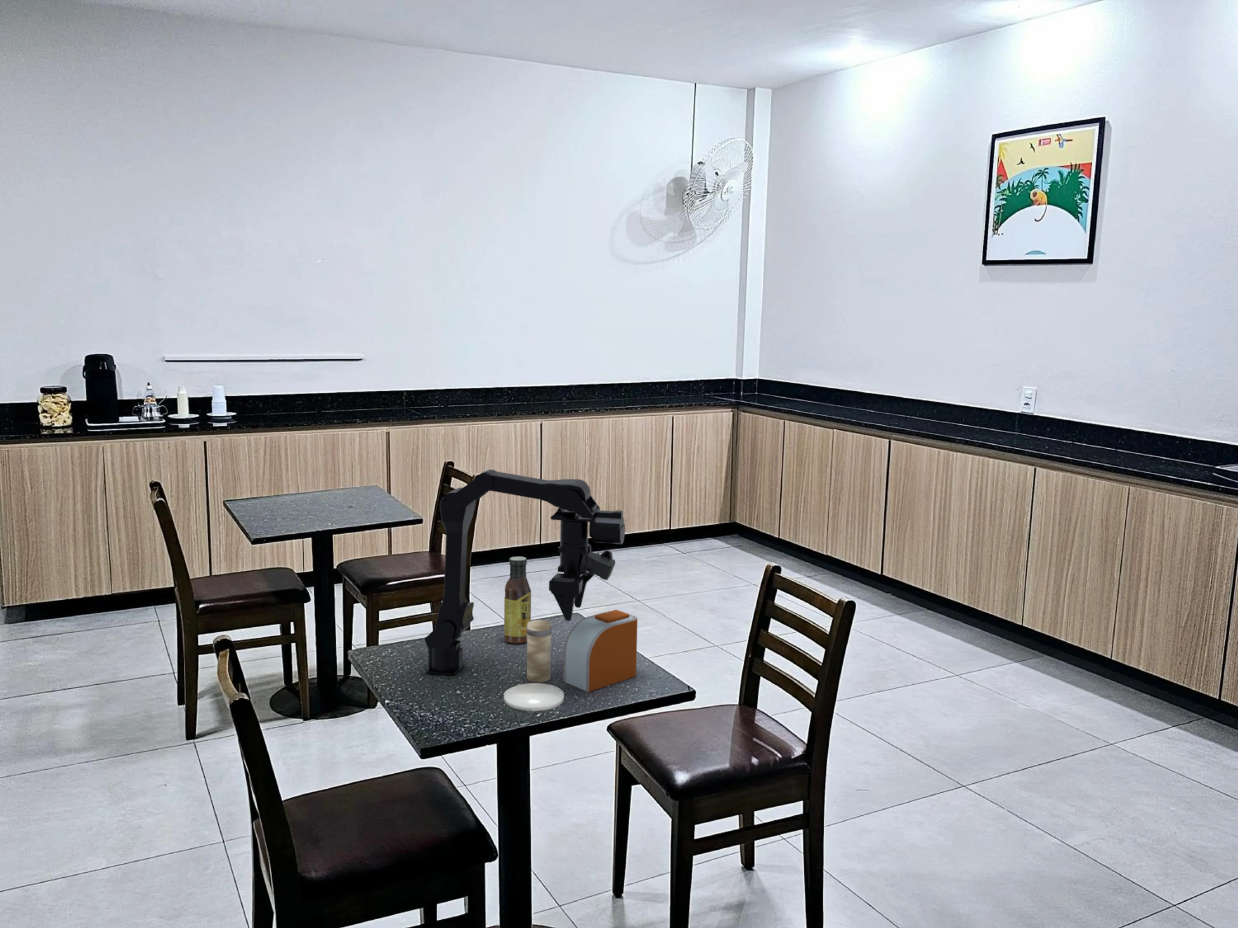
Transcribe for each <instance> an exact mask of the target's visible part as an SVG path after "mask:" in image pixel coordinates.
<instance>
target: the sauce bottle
mask: <svg viewBox="0 0 1238 928" xmlns="http://www.w3.org/2000/svg"><path fill="white" fill-rule="evenodd" d="M508 561H509V578H508V580H507V581H506V583H505V585H504V599H503V601H504V603H503V604H504V605H503V616H504V617H503V618H504V619H503V634H504V640H505V641H506V642H507V643H509V644H517V645H518V644H524V643H527V623H528V622H530V621H532V589H531V586H530V584H529V580H528V578H527V564H528V561H527V558H526V557H524V556H512V557H510V558H509V560H508Z"/></svg>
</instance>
